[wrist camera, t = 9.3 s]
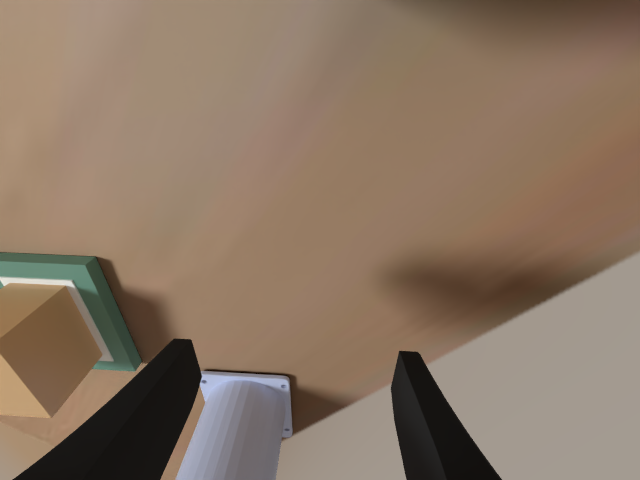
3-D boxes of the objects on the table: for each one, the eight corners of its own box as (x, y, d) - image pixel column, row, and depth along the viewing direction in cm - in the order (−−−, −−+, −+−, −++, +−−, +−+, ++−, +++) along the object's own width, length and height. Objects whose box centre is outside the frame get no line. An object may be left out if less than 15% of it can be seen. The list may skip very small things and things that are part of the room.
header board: (141, 361, 26) (112, 406, 23) (53, 356, 26) (10, 400, 23) (95, 256, 20) (46, 295, 17) (-16, 251, 21) (-87, 288, 17)
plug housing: (102, 354, 24) (51, 418, 20) (55, 352, 24) (-6, 414, 20) (65, 285, 20) (-8, 344, 16) (9, 282, 21) (-78, 340, 16)
